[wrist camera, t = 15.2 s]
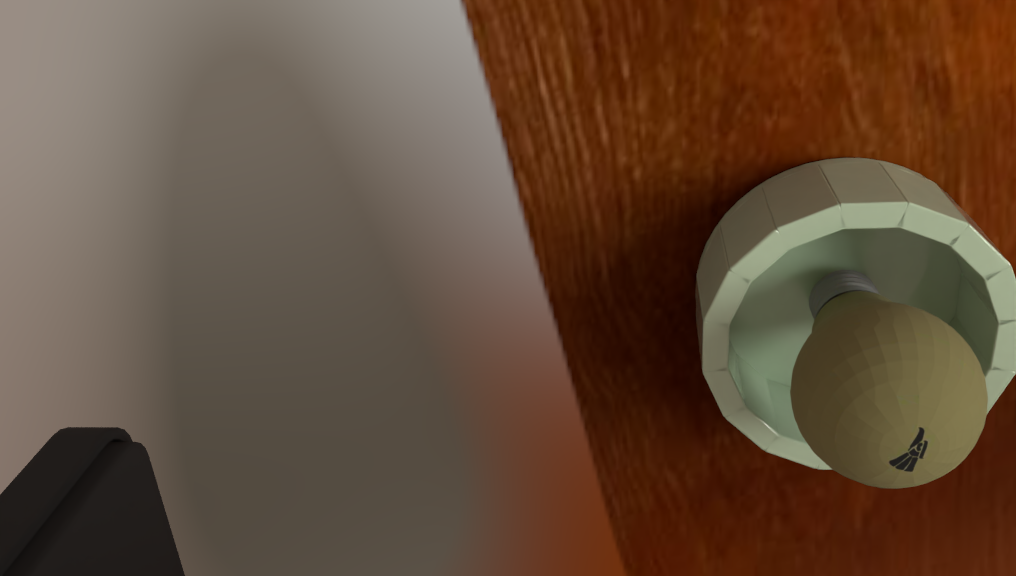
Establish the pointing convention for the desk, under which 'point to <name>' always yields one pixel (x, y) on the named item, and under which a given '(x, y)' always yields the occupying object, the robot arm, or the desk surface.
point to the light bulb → (885, 387)
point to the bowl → (830, 247)
